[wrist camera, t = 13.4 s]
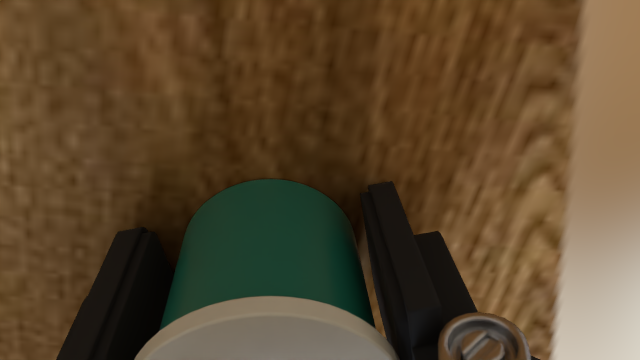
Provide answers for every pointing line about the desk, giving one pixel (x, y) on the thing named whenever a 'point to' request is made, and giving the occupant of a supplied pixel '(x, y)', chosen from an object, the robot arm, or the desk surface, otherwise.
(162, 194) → the desk surface
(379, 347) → the coffee pod
